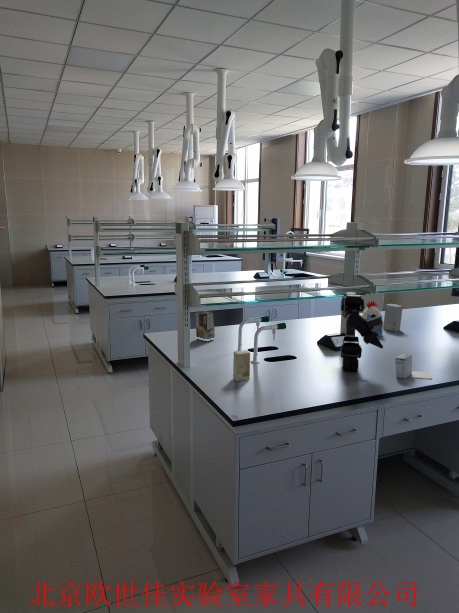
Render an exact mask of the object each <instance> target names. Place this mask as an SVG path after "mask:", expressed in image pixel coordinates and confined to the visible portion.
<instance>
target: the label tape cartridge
mask: <svg viewBox="0 0 459 613" xmlns="http://www.w3.org/2000/svg"><path fill="white" fill-rule="evenodd" d="M376 316H377V315H376ZM380 317H381V320H382V322H383V323H382V324H379V325H376V326H374V329H372V330H376V331H377V333H378V336H377V337H382V336H383V331H384V329H383V325H384V320H383V315H381V316H380ZM369 318H371V315H367V320H368V319H369Z"/></svg>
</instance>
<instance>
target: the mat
mask: <svg viewBox="0 0 459 613" xmlns="http://www.w3.org/2000/svg"><path fill="white" fill-rule="evenodd" d="M409 376H411V378H412V379H422V380H423V379H424V380H433V377H432V376H431V374H430V373H429V371H414V370H412V373H411V374H410V375H409Z"/></svg>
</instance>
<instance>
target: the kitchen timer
mask: <svg viewBox="0 0 459 613" xmlns="http://www.w3.org/2000/svg"><path fill="white" fill-rule="evenodd" d="M378 305H379V304H377V302H376V301H374V300H373V301H372V300H371V301H368V302H366V308H364V310H363V312H362V314H361V316H362V317H363V318H365V319H366V320H367V315H373V314H375V315H379V316H382V314H381V311H380V309H379V308H378Z"/></svg>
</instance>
